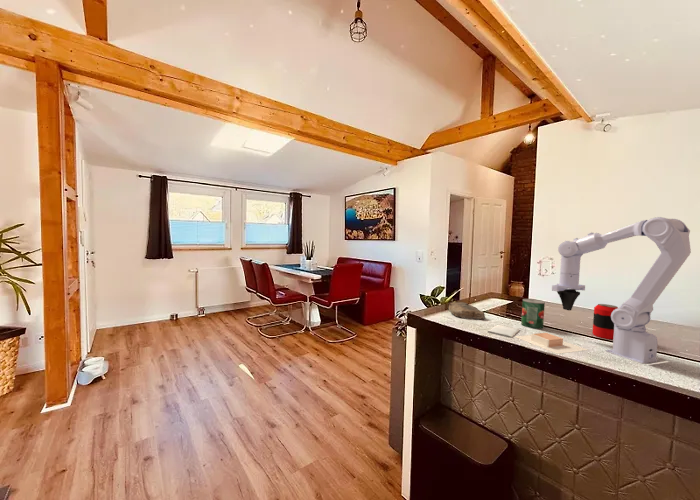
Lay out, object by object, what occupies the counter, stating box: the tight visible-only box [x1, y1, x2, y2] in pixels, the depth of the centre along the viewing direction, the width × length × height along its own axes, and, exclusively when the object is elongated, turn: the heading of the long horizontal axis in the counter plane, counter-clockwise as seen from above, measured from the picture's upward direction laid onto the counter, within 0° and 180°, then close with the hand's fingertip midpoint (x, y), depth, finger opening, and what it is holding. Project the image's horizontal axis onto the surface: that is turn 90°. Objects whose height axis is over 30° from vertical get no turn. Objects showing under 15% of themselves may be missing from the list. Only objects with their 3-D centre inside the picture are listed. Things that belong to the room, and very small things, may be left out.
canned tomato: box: [520, 298, 546, 330], centre depth 120 cm, size 8×8×11 cm
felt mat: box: [514, 334, 589, 355], centre depth 100 cm, size 16×14×1 cm
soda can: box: [592, 303, 619, 341], centre depth 110 cm, size 8×8×12 cm
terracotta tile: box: [530, 332, 564, 347], centre depth 99 cm, size 6×2×7 cm
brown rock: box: [448, 301, 486, 320], centre depth 139 cm, size 14×5×20 cm
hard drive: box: [487, 324, 521, 339], centre depth 111 cm, size 2×8×12 cm
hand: (567, 309), depth 107 cm, fingers closed
